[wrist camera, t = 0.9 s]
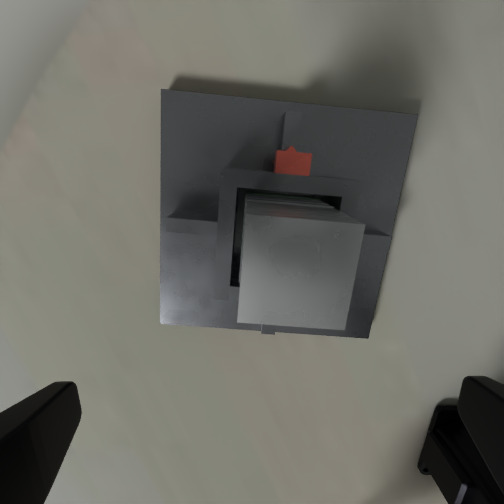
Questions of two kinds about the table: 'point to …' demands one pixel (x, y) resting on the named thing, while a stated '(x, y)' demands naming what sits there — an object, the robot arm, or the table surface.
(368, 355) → the table surface
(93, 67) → the table surface
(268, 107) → the jack base
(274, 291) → the block
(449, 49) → the table surface
